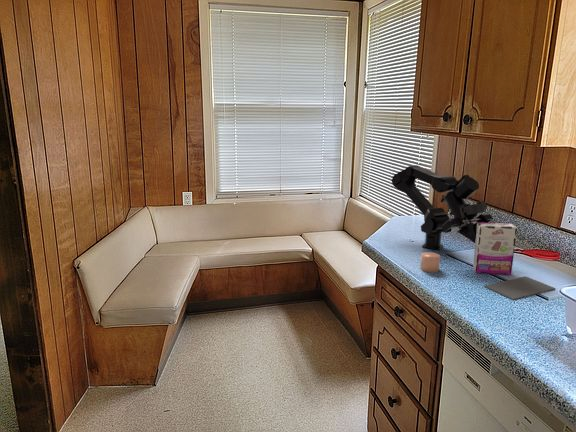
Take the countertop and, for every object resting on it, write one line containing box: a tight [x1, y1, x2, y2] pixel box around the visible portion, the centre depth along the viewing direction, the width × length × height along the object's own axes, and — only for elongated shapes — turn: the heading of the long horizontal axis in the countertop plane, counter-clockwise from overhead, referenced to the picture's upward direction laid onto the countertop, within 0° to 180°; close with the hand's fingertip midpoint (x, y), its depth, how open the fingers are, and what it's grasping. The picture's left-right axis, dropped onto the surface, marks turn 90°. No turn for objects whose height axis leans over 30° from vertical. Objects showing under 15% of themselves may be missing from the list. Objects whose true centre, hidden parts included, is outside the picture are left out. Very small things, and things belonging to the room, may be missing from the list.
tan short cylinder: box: [420, 251, 441, 273], centre depth 142 cm, size 6×6×5 cm
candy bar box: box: [472, 222, 518, 276], centre depth 138 cm, size 11×5×16 cm, turn 79°
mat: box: [483, 275, 556, 301], centre depth 127 cm, size 10×18×1 cm, turn 113°
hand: (478, 244), depth 143 cm, fingers closed
